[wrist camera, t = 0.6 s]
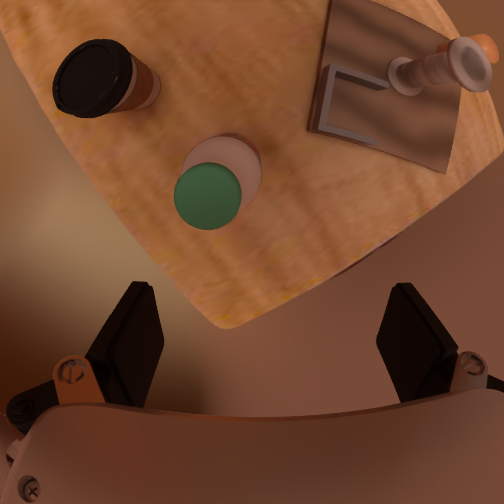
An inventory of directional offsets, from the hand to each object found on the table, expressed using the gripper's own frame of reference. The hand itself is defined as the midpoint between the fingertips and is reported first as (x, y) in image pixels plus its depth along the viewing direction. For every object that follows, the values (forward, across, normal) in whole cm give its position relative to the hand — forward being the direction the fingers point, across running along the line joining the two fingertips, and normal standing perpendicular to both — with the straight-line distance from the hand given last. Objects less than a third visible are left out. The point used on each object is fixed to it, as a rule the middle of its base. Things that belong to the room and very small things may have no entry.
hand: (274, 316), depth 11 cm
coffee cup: (+30, +16, -13) cm, 36 cm away
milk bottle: (+30, +4, -2) cm, 30 cm away
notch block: (+28, -11, -10) cm, 31 cm away
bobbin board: (+30, -18, -15) cm, 38 cm away
